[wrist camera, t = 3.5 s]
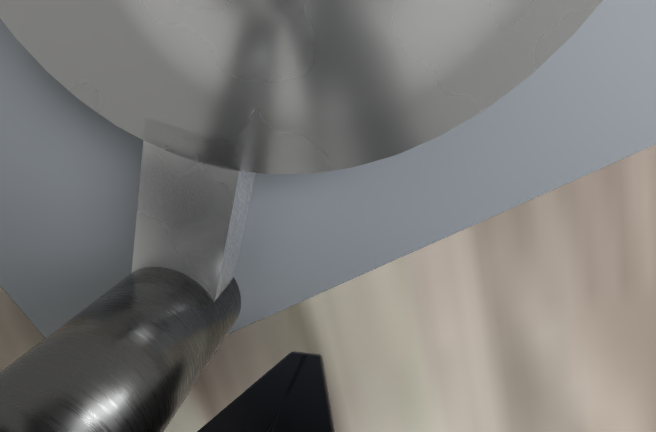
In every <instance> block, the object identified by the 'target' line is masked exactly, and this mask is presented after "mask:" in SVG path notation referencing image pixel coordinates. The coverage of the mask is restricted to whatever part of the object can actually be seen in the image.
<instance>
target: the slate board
mask: <svg viewBox="0 0 656 432" xmlns="http://www.w3.org/2000/svg"><path fill="white" fill-rule="evenodd" d="M655 144H656V0H603V1H602V2H601V3H600V4H599V5H598V7H597V8H596V9H595V10H594V11H593V12H592V14H591V15H590V16H589V17H588V18H587V19H586V21H585V22H584V23H583V24H582V25H581V26H580V28H579V29H578V30H577V31H576V32H575V33H574V35H573V36H572V37H571V38H570V39H568V40H567V41H566V42H565V43H564V44H563V45H562V46H561V47H560V48H559V49H558V50H557V51H556V52H555V53H554V54H553V55H551V56H550V57H549V58H548V59H547V60H546V61H545V62H544V63H543V64H542V65H541V66H540V67H539V68H538V69H537V70H536V71H534V72H533V73H532V74H531V75H530V76H529V77H528V78H527V79H525V80H524V81H523V82H521V83H520V84H519V85H517V86H516V87H515V88H513V89H512V90H511V91H509V92H508V93H507V94H505V95H504V96H503V97H501V98H500V99H499V100H497V101H496V102H495V103H493V104H492V105H491V106H489V107H488V108H487V109H485V110H484V111H482V112H481V113H479V114H477V115H476V116H474V117H472V118H470V119H469V120H467V121H465V122H463V123H462V124H460V125H458V126H457V127H455V128H453V129H451V130H450V131H448V132H446V133H445V134H443V135H441V136H439V137H437V138H435V139H432V140H430V141H428V142H425V143H423V144H421V145H418V146H416V147H414V148H411V149H409V150H407V151H404V152H402V153H400V154H397V155H395V156H391V157H388V158H384V159H381V160H377V161H374V162H370V163H367V164H363V165H360V166H356V167H353V168H346V169H340V170H333V171H326V172H319V173H313V174H261V173H256V174H255V179H254V184H253V189H252V193H251V198H250V203H249V208H248V213H247V217H246V222H245V227H244V232H243V237H242V242H241V246H240V251H239V256H238V261H237V266H236V270H235V275H234V278H235V280H236V282H237V284H238V287H239V290H240V295H241V309H240V313H239V316H238V318H237V320H236V322H235V323H234V325H233V326H232V328H231V329H230V331H229V332H228V334H229V333H231V332H234V331H236V330H238V329H240V328H243V327H245V326H247V325H249V324H252V323H254V322H256V321H258V320H261V319H263V318H265V317H267V316H270V315H272V314H274V313H276V312H279V311H281V310H283V309H285V308H288V307H290V306H292V305H294V304H297V303H299V302H301V301H303V300H306V299H308V298H310V297H312V296H315V295H317V294H319V293H321V292H324V291H326V290H328V289H330V288H333V287H335V286H337V285H340V284H342V283H344V282H346V281H349V280H351V279H353V278H355V277H358V276H360V275H362V274H364V273H367V272H369V271H371V270H373V269H376V268H378V267H380V266H382V265H385V264H387V263H389V262H391V261H394V260H396V259H398V258H400V257H403V256H405V255H407V254H409V253H412V252H414V251H416V250H418V249H421V248H423V247H425V246H427V245H430V244H432V243H434V242H436V241H439V240H441V239H443V238H445V237H448V236H450V235H452V234H454V233H457V232H459V231H461V230H463V229H466V228H468V227H470V226H472V225H475V224H477V223H479V222H481V221H484V220H486V219H488V218H490V217H493V216H495V215H497V214H499V213H502V212H504V211H506V210H508V209H511V208H513V207H515V206H517V205H520V204H522V203H524V202H526V201H529V200H531V199H533V198H535V197H538V196H540V195H542V194H544V193H547V192H549V191H551V190H553V189H556V188H558V187H560V186H562V185H565V184H567V183H569V182H571V181H574V180H576V179H578V178H580V177H583V176H585V175H587V174H589V173H592V172H594V171H596V170H598V169H601V168H603V167H605V166H607V165H610V164H612V163H614V162H616V161H619V160H621V159H623V158H625V157H628V156H630V155H632V154H634V153H637V152H639V151H641V150H643V149H646V148H648V147H650V146H652V145H655ZM142 151H143V140H142V139H140V138H138V137H136V136H134V135H132V134H131V133H129V132H127V131H125V130H123V129H121V128H119V127H118V126H116V125H114V124H113V123H112V122H110V121H109V120H107V119H106V118H104V117H103V116H101V115H100V114H99V113H97V112H96V111H94V110H93V109H91V108H90V107H88V106H87V105H86V104H84V103H83V102H81V101H80V100H79V99H78V98H77V97H76V96H74V95H73V94H72V93H71V92H70V91H69V90H67V89H66V88H65V87H64V86H63V85H62V84H61V83H59V82H58V81H57V80H56V79H55V78H54V77H52V76H51V75H50V74H49V73H48V72H47V71H46V70H45V69H44V68H43V67H42V66H41V65H40V64H39V63H38V61H37V60H36V59H35V58H34V57H33V56H32V55H31V54H30V53H29V52H28V51H27V50H26V49H25V48H24V47H23V46H22V44H21V43H20V42H19V41H18V40H17V39H16V38H15V37H14V35H13V34H12V33H11V32H10V30H9V29H8V28H7V26H6V25H5V24H4V23H3V21H2V20H1V19H0V286H1V287H2V289H3V290H4V291H5V292H6V293H7V294H8V296H9V297H10V298H11V299H12V300H13V301H14V302H15V304H16V305H17V306H18V307H19V308H20V309H21V311H22V312H23V313H24V314H25V315H26V316H27V318H28V319H29V320H30V321H31V322H32V323H33V325H34V326H35V327H36V328H37V329H38V330H39V332H40V333H41V334H42V335H43V336H44V337H45V338H46V337H48V336H49V335H50V334H52V333H53V332H54V331H56V330H57V329H58V328H60V327H61V326H62V325H64V324H65V323H66V322H67V321H69V320H70V319H71V318H73V317H74V316H75V315H77V314H78V313H79V312H81V311H82V310H83V309H85V308H86V307H87V306H89V305H90V304H91V303H93V302H94V301H95V300H96V299H98V298H99V297H100V296H102V295H103V294H104V293H106V292H107V291H108V290H110V289H111V288H112V287H114V286H115V285H116V284H118V283H119V282H120V281H121V280H123V279H124V278H125V277H127V276H128V275H129V274H131V272H132V261H133V250H134V239H135V228H136V217H137V206H138V195H139V184H140V173H141V162H142Z"/></svg>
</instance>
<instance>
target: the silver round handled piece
mask: <svg viewBox="0 0 656 432" xmlns="http://www.w3.org/2000/svg"><path fill="white" fill-rule="evenodd" d="M602 1H603V0H0V19H1V20H2V21H3V23H4V24H5V25H6V26H7V28H8V29H9V30H10V32H11V33H12V34H13V35H14V37H15V38H16V39H17V40H18V41H19V42H20V43H21V44H22V46H23V47H24V48H25V49H26V50H27V51H28V52H29V53H30V54H31V55H32V56H33V57H34V58H35V59H36V60H37V61H38V63H39V64H40V65H41V66H42V67H43V68H44V69H45V70H46V71H47V72H48V73H49V74H50V75H51V76H52V77H54V78H55V79H56V80H57V81H58V82H59V83H61V84H62V85H63V86H64V87H65V88H66V89H67V90H69V91H70V92H71V93H72V94H73V95H74V96H76V97H77V98H78V99H79V100H80V101H81V102H83V103H84V104H86V105H87V106H88V107H90V108H91V109H93V110H94V111H96V112H97V113H99V114H100V115H101V116H103V117H104V118H106V119H107V120H109V121H110V122H112V123H113V124H114V125H116V126H118V127H119V128H121V129H123V130H125V131H127V132H129V133H131V134H132V135H134V136H136V137H138V138H140V139H142V140H143V151H142V162H141V173H140V184H139V195H138V206H137V217H136V228H135V239H134V250H133V261H132V272H131V274H129V275H128V276H127V277H125V278H124V279H123V280H121V281H120V282H119V283H118V284H116V285H115V286H114V287H112V288H111V289H110V290H108V291H107V292H106V293H104V294H103V295H102V296H100V297H99V298H98V299H96V300H95V301H94V302H93V303H91V304H90V305H89V306H87V307H86V308H85V309H83V310H82V311H81V312H79V313H78V314H77V315H75V316H74V317H73V318H71V319H70V320H69V321H67V322H66V323H65V324H64V325H62V326H61V327H60V328H58V329H57V330H56V331H54V332H53V333H52V334H50V335H49V336H48V337H46V338H45V339H44V340H42V341H41V342H40V343H38V344H37V345H36V346H35V347H33V348H32V349H31V350H29V351H28V352H27V353H25V354H24V355H23V356H21V357H20V358H19V359H17V360H16V361H15V362H13V363H12V364H11V365H9V366H8V367H7V368H6V369H4V370H3V371H2V372H0V432H163V431H164V430H165V428H166V427H167V425H168V424H169V422H170V421H171V419H172V418H173V416H174V415H175V413H176V412H177V410H178V409H179V407H180V406H181V404H182V402H183V401H184V399H185V398H186V396H187V395H188V393H189V392H190V390H191V389H192V387H193V386H194V384H195V383H196V381H197V380H198V378H199V377H200V375H201V373H202V372H203V370H204V369H205V367H206V366H207V364H208V363H209V361H210V360H211V358H212V357H213V355H214V354H215V352H216V351H217V349H218V348H219V346H220V344H221V343H222V341H223V340H224V338H225V337H226V335H227V334H228V332H229V331H230V329H231V328H232V326H233V325H234V323H235V322H236V320H237V318H238V316H239V313H240V309H241V295H240V290H239V287H238V284H237V282H236V280H235V278H234V275H235V270H236V266H237V261H238V256H239V251H240V246H241V242H242V237H243V232H244V227H245V222H246V217H247V213H248V208H249V203H250V198H251V193H252V189H253V184H254V179H255V174H256V173H261V174H313V173H319V172H326V171H333V170H340V169H346V168H353V167H356V166H360V165H363V164H367V163H370V162H374V161H377V160H381V159H384V158H388V157H391V156H395V155H397V154H400V153H402V152H404V151H407V150H409V149H411V148H414V147H416V146H418V145H421V144H423V143H425V142H428V141H430V140H432V139H435V138H437V137H439V136H441V135H443V134H445V133H446V132H448V131H450V130H451V129H453V128H455V127H457V126H458V125H460V124H462V123H463V122H465V121H467V120H469V119H470V118H472V117H474V116H476V115H477V114H479V113H481V112H482V111H484V110H485V109H487V108H488V107H489V106H491V105H492V104H493V103H495V102H496V101H497V100H499V99H500V98H501V97H503V96H504V95H505V94H507V93H508V92H509V91H511V90H512V89H513V88H515V87H516V86H517V85H519V84H520V83H521V82H523V81H524V80H525V79H527V78H528V77H529V76H530V75H531V74H532V73H533V72H534V71H536V70H537V69H538V68H539V67H540V66H541V65H542V64H543V63H544V62H545V61H546V60H547V59H548V58H549V57H550V56H551V55H553V54H554V53H555V52H556V51H557V50H558V49H559V48H560V47H561V46H562V45H563V44H564V43H565V42H566V41H567V40H568V39H570V38H571V37H572V36H573V35H574V33H575V32H576V31H577V30H578V29H579V28H580V26H581V25H582V24H583V23H584V22H585V21H586V19H587V18H588V17H589V16H590V15H591V14H592V12H593V11H594V10H595V9H596V8H597V7H598V5H599V4H600V3H601V2H602Z"/></svg>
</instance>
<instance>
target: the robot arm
mask: <svg viewBox="0 0 656 432" xmlns="http://www.w3.org/2000/svg"><path fill="white" fill-rule="evenodd" d="M197 432H335V428H334V423H333V417H332V411H331V405H330V399H329V393H328V387H327V381H326V375H325V369H324V363H323V358H322V356H321V355H320V354H312V353H303V352H291V353H289V354H288V355H287V356H286V357H285V358H284V359H282V360H281V361H280V362H279V363H278V364H276V365H275V366H274V367H273V368H272V369H271V370H269V371H268V372H267V373H266V374H265V375H263V376H262V377H261V378H260V379H259V380H258V381H256V382H255V383H254V384H253V385H252V386H251V387H249V388H248V389H247V390H246V391H245V392H243V393H242V394H241V395H240V396H239V397H238V398H236V399H235V400H234V401H233V402H232V403H230V404H229V405H228V406H227V407H226V408H225V409H223V410H222V411H221V412H220V413H219V414H218V415H216V416H215V417H214V418H213V419H212V420H210V421H209V422H208V423H207V424H206V425H205V426H203V427H202V428H201V429H200V430H199V431H197Z"/></svg>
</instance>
